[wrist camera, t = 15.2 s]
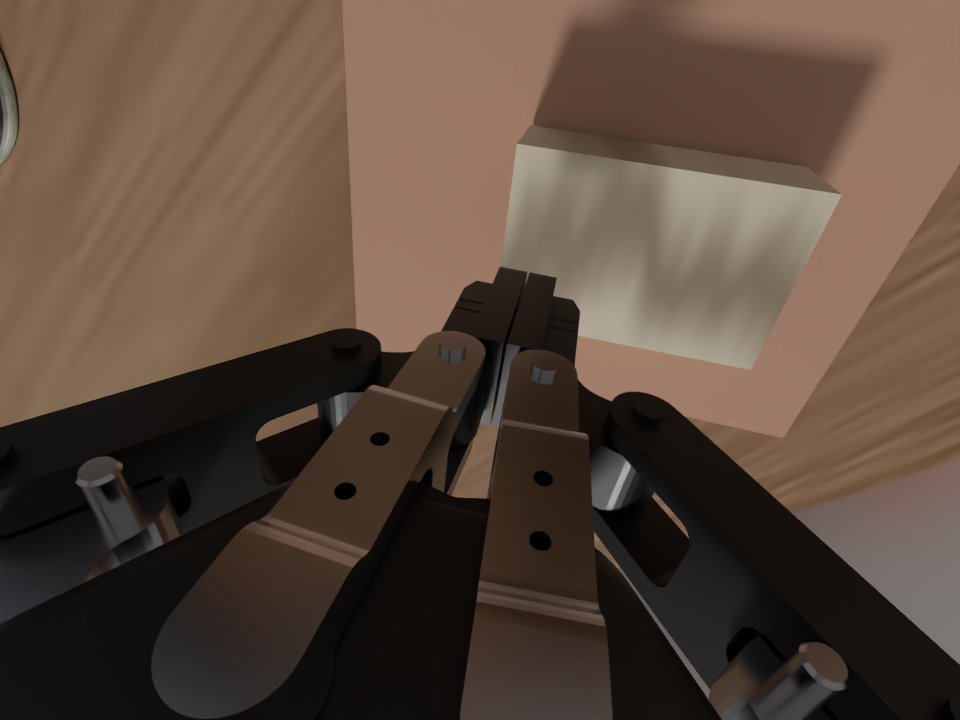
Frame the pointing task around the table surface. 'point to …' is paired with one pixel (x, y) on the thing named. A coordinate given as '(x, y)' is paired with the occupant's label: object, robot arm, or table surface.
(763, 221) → the beige rectangular block
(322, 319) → the table surface
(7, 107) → the coffee can
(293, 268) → the table surface
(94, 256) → the table surface
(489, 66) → the mat
